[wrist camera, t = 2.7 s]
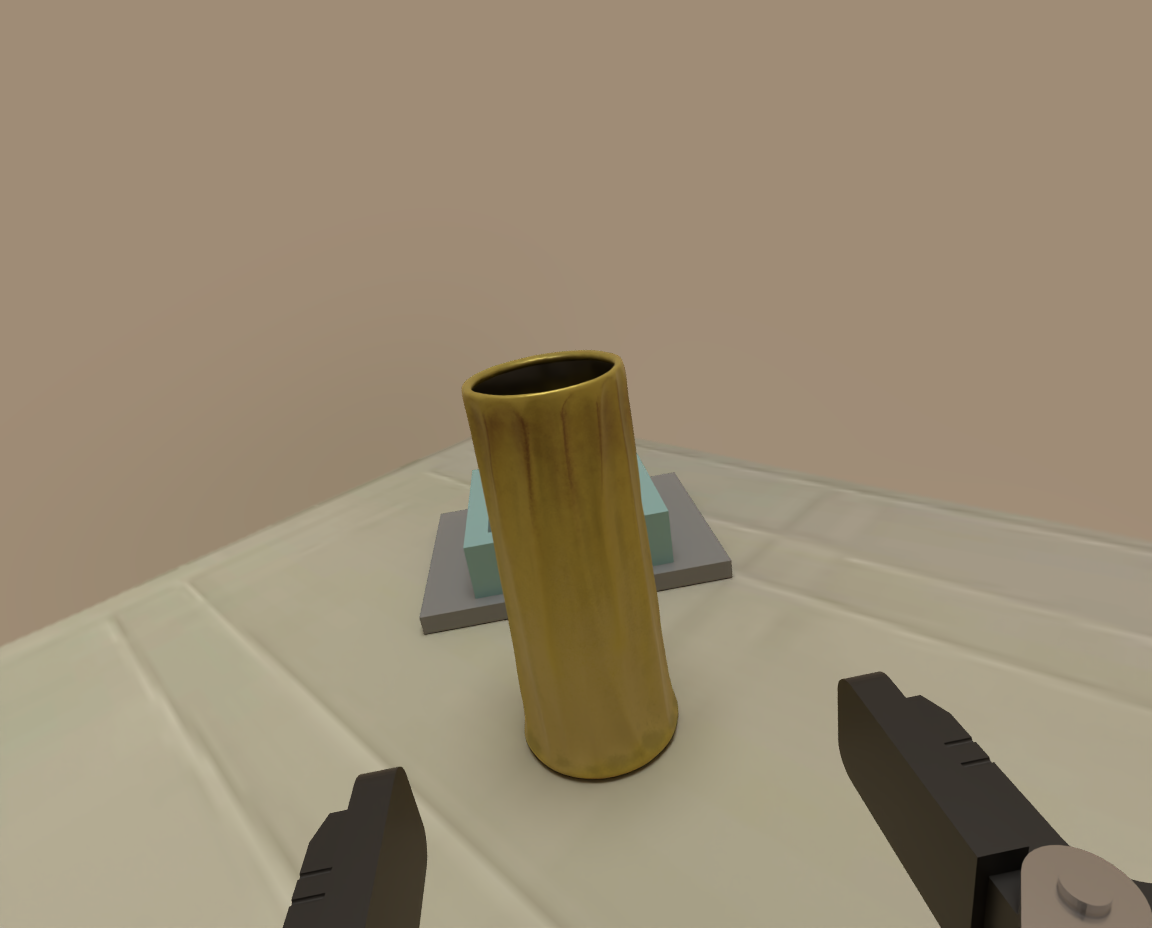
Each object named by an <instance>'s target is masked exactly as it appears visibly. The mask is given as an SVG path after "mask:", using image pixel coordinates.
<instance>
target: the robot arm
mask: <svg viewBox="0 0 1152 928" xmlns="http://www.w3.org/2000/svg"><path fill="white" fill-rule="evenodd" d="M838 742H839V750H840V754H841V758H842V761H843V764H844V767H845V769H846V772H847V774H848V776H849V778H850V780H851V781H852V783H853V785H854V786H855V788H856V790H857V791H858V793H859V794H860V796H861V798H862V799H863V801H864V803H865V804H866V806H867V808H868V809H869V811H870V812H871V814H872V816H873V817H874V819H875V821H876V822H877V824H878V825H879V827H880V829H881V830H882V832H883V834H884V835H885V837H886V839H887V840H888V842H889V843H890V845H891V847H892V848H893V850H894V852H895V853H896V855H897V856H898V858H899V860H900V861H901V863H902V865H903V866H904V868H905V870H906V871H907V873H908V874H909V876H910V878H911V879H912V881H913V883H914V884H915V886H916V887H917V889H918V891H919V892H920V894H921V896H922V897H923V899H924V901H925V902H926V904H927V905H928V907H929V909H930V910H931V912H932V914H933V915H934V917H935V918H936V920H937V922H938V923H939V925H940V927H941V928H1152V883H1145V882H1139V881H1136V880H1132V879H1130V878H1129V877H1128V876H1127V875H1126V874H1124V873H1123V872H1122V871H1121V870H1119V869H1118V868H1117V867H1115V866H1114V865H1113V864H1111V863H1109V862H1108V861H1106V860H1104V859H1103V858H1101V857H1099V856H1096V855H1094V854H1092V853H1090V852H1087V851H1084V850H1082V849H1078V848H1074V847H1070V846H1069V845H1068V844H1067V843H1066V842H1065V841H1064V840H1063V839H1062V838H1061V837H1060V836H1059V834H1058V833H1057V832H1056V831H1055V830H1054V829H1053V828H1052V827H1051V826H1050V824H1049V823H1048V822H1047V821H1046V820H1045V819H1044V818H1043V817H1042V815H1041V814H1040V813H1039V812H1038V811H1037V810H1036V809H1035V808H1034V807H1033V805H1032V804H1031V803H1030V802H1029V801H1028V800H1027V799H1026V798H1025V796H1024V795H1023V794H1022V793H1021V792H1020V791H1019V790H1018V789H1017V788H1016V786H1015V785H1014V784H1013V783H1012V782H1011V781H1010V780H1009V779H1008V777H1007V776H1006V775H1005V774H1004V773H1003V772H1002V771H1001V770H1000V769H999V767H998V766H997V765H996V764H995V763H994V762H993V763H992V762H991V761H990V759H989V756H988V755H987V754H986V753H985V752H984V751H983V750H982V748H981V747H980V746H979V745H978V744H977V743H976V742H973V741H972V737H971V736H970V735H969V734H968V733H967V732H966V731H965V729H964V728H963V727H962V726H961V725H960V724H959V723H958V722H957V720H956V719H955V718H954V717H953V716H952V715H951V714H950V713H949V712H947V711H946V710H944V709H942V708H941V707H939V706H937V705H936V704H934V703H933V702H931V701H929V700H928V699H926V698H924V697H923V696H921V695H918V696H913V697H909V698H906V697H905V696H904V695H903V694H902V692H901V691H900V690H899V689H898V688H897V686H896V685H895V684H894V683H893V682H892V680H891V679H890V678H889V677H888V676H887V675H886V674H885V673H883V672H875V673H870V674H865V675H860V676H855V677H851V678H846V679H841V680H840V681H839V683H838ZM426 867H427V843H426V835H425V830H424V826H423V823H422V820H421V817H420V814H419V811H418V808H417V805H416V802H415V799H414V796H413V793H412V790H411V787H410V784H409V781H408V778H407V775H406V773H405V770H404V769H403V768H402V767H396V768H391V769H386V770H381V771H376V772H371V773H366V774H361V775H359V776H358V777H357V778H356V781H355V784H354V787H353V791H352V795H351V798H350V802H349V806H348V810H344V811H339V812H334V813H330V814H329V815H328V817H327V818H326V819H325V821H324V822H323V824H322V825H321V827H320V828H319V829H318V831H317V832H316V834H315V835H314V837H313V838H312V840H311V841H310V842H309V845H308V849H307V852H306V855H305V858H304V861H303V865H302V868H301V871H300V880H298V881H297V884H296V887H295V890H294V893H293V897H292V906H290V907H289V909H288V913H287V916H286V919H285V922H284V925H283V928H419V925H420V917H421V909H422V900H423V892H424V884H425V876H426Z"/></svg>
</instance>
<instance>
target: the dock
mask: <svg viewBox="0 0 1152 928" xmlns="http://www.w3.org/2000/svg"><path fill="white" fill-rule="evenodd" d="M636 454H637V452H636ZM637 461H638V469H639V477H640V487H641V499H642V506H643V511H644V516H645V522H646V527H647V533H648V540H649V546H650V552H651V558H652V565H653V572H654V578H655V584H656V590H657V591H660V590H665V589H670V588H676V587H681V586H687V585H692V584H697V583H703V582H708V581H714V580H719V579H724V578H730V577H732V564H731V559H730V558H729V556H728V555H727V553H726V551H725V550H724V548H723V547H722V545H721V544H720V542H719V541H718V539H717V538H716V536H715V534H714V533H713V531H712V530H711V528H710V527H709V525H708V524H707V522H706V521H705V519H704V517H703V516H702V514H701V513H700V511H699V510H698V508H697V507H696V505H695V504H694V502H693V500H692V499H691V497H690V496H689V494H688V493H687V491H686V490H685V488H684V487H683V485H682V483H681V482H680V480H679V479H678V477H677V476H676V474H675V473H674V472H673V473H668V474H662V475H656V476H651V477H650V476H649V474H648V473H647V471H646V469H645V467H644V465H643V463H642V462H641V460H640V458H639V456H638V454H637ZM504 619H508V616H507V610H506V605H505V600H504V596H503V591H502V586H501V582H500V577H499V571H498V566H497V560H496V554H495V548H494V543H493V537H492V531H491V527H490V522H489V518H488V513H487V508H486V503H485V498H484V493H483V488H482V483H481V478H480V473H479V469H477V470H472V479H471V487H470V496H469V504H468V509H466V510H460V511H455V512H449V513H443V514H441V516H440V521H439V525H438V530H437V535H436V540H435V545H434V550H433V555H432V560H431V564H430V569H429V574H428V579H427V584H426V589H425V594H424V599H423V604H422V608H421V613H420V621H421V625H422V628H423V632H424V634H428V633H434V632H439V631H444V630H450V629H455V628H461V627H466V626H471V625H477V624H482V623H488V622H493V621H498V620H504Z"/></svg>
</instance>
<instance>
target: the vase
mask: <svg viewBox="0 0 1152 928" xmlns="http://www.w3.org/2000/svg"><path fill="white" fill-rule="evenodd" d="M627 389H628V388H627V379H626V372H625V367H624V364H623V362H622V359H621V358H620V357H619V356H618V355H615V354H613V353H608V352H603V351H595V350H578V351H562V352H555V353H547V354H541V355H535V356H530V357H526V358H521V359H518V360H514V361H510V362H506V363H503V364H500V365H496V366H493V367H490V368H488V369H486V370H483V371H481V372H479V373H477V374H475V375H473V376H472V377H470V378H469V379H468V380H466V381H465V382H464V384H463V386H462V396H463V401H464V406H465V409H466V413H467V418H468V422H469V426H470V431H471V435H472V440H473V445H474V449H475V454H476V458H477V463H478V468H479V473H480V478H481V483H482V488H483V493H484V498H485V503H486V508H487V513H488V518H489V522H490V527H491V531H492V537H493V543H494V548H495V554H496V560H497V566H498V571H499V577H500V582H501V586H502V591H503V596H504V600H505V605H506V610H507V616H508V621H509V626H510V632H511V637H512V642H513V647H514V653H515V659H516V666H517V673H518V679H519V685H520V690H521V695H522V700H523V705H524V713H525V737H526V741H527V743H528V745H529V747H530V749H531V750H532V752H533V753H534V754H535V755H536V756H537V757H538V759H540V760H541V761H542V762H543V763H544V764H545V765H547V766H548V767H549V768H551V769H553V770H555V771H557V772H559V773H562V774H565V775H568V776H571V777H576V778H584V779H604V778H611V777H615V776H619V775H622V774H625V773H628V772H631V771H633V770H636V769H638V768H640V767H642V766H643V765H645V764H647V763H648V762H650V761H651V760H652V759H653V758H654V757H656V756H657V755H658V754H659V753H660V752H661V751H662V750H663V749H664V748H665V747H666V745H667V744H668V743H669V741H670V740H671V738H672V736H673V734H674V731H675V728H676V724H677V718H678V704H677V700H676V697H675V694H674V691H673V689H672V685H671V681H670V677H669V672H668V667H667V661H666V655H665V649H664V643H663V637H662V631H661V623H660V613H659V605H658V597H657V590H656V584H655V578H654V572H653V565H652V558H651V552H650V546H649V540H648V533H647V527H646V522H645V516H644V511H643V506H642V499H641V487H640V477H639V469H638V461H637V454H636V446H635V439H634V431H633V425H632V417H631V410H630V403H629V397H628V390H627Z"/></svg>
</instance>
